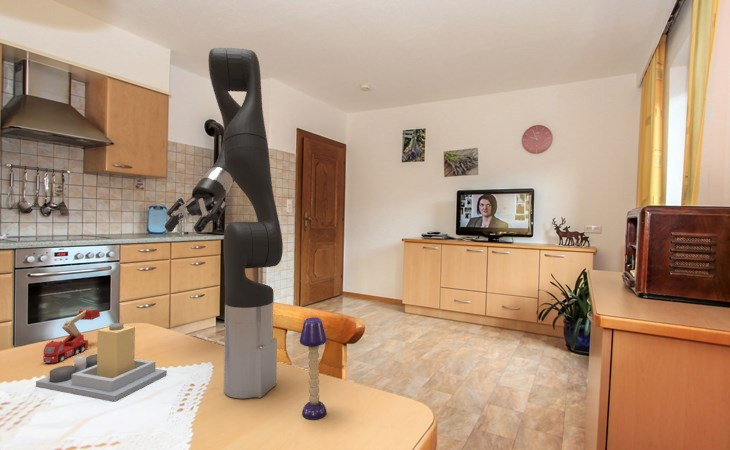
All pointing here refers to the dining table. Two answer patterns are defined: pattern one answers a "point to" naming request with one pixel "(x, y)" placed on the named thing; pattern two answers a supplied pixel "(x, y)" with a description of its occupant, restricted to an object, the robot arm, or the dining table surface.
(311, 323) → the toy lamp
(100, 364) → the tan knobbed block
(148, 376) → the grey insertion tray
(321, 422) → the dining table surface
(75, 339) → the toy fire truck
